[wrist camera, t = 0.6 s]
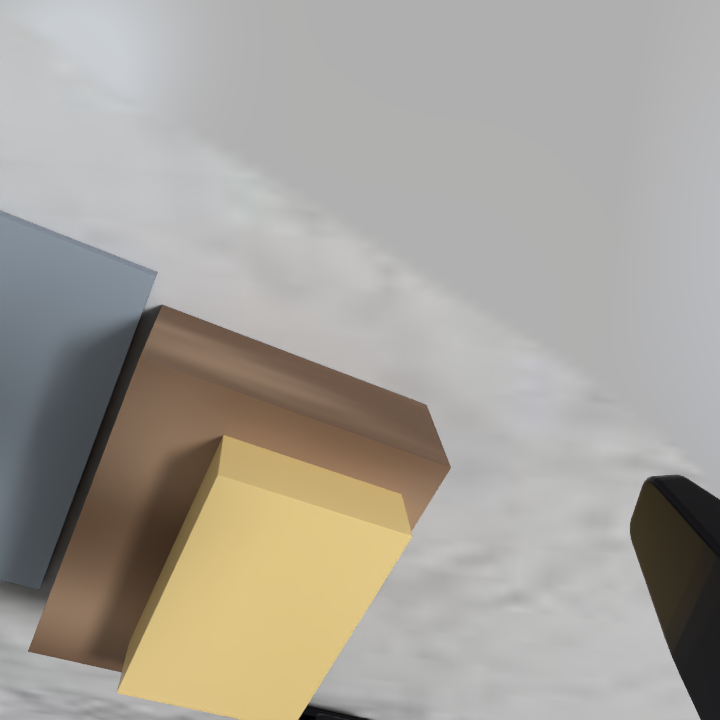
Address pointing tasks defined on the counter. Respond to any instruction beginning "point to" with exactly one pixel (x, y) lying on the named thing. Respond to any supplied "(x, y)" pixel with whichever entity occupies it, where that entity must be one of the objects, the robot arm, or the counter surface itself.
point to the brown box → (194, 455)
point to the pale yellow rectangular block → (263, 585)
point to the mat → (54, 378)
